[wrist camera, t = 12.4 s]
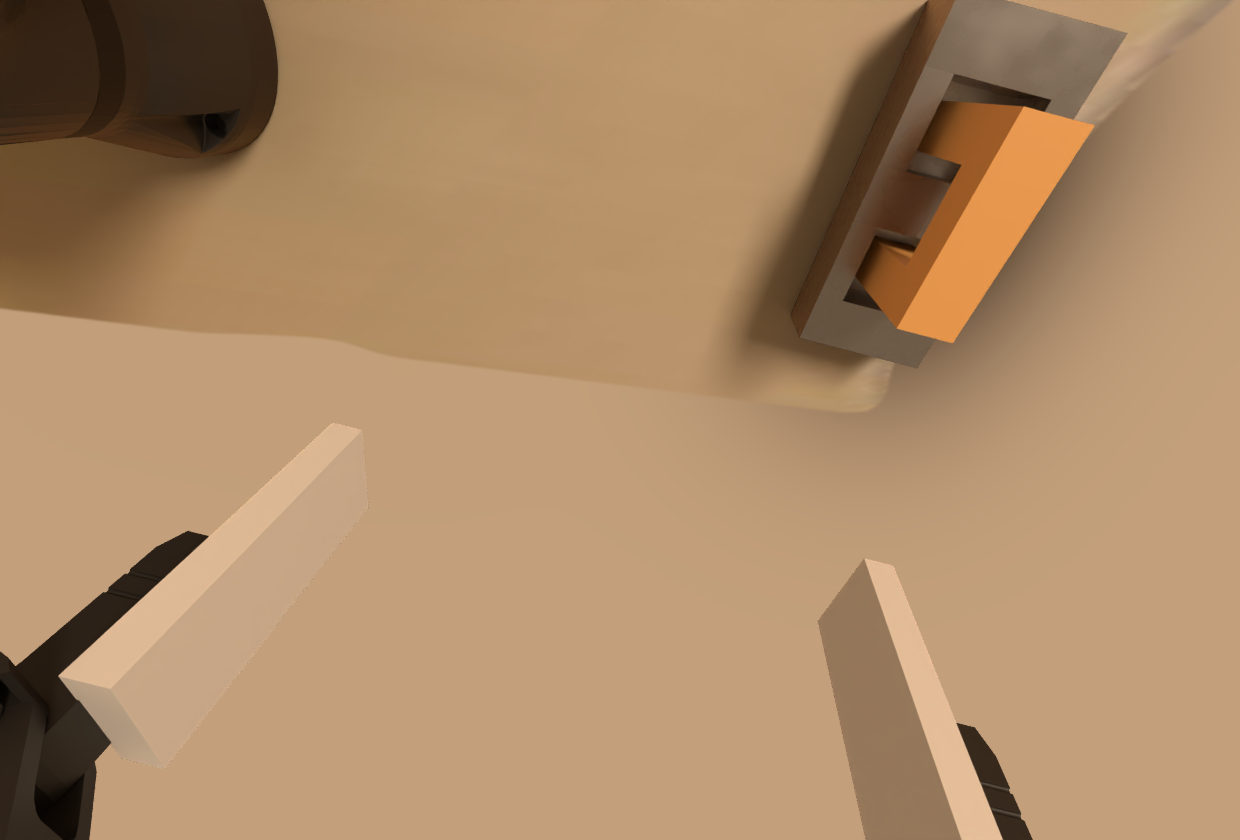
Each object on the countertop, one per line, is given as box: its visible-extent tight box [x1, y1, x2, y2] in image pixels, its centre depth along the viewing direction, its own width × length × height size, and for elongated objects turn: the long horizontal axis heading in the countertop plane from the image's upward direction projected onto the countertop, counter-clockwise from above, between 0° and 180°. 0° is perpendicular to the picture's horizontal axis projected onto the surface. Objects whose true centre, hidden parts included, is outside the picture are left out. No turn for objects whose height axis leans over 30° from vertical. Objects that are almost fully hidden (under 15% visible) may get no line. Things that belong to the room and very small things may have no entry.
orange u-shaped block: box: [855, 100, 1095, 343], centre depth 28 cm, size 3×10×10 cm, turn 168°
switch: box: [791, 0, 1128, 368], centre depth 30 cm, size 8×18×4 cm, turn 168°
